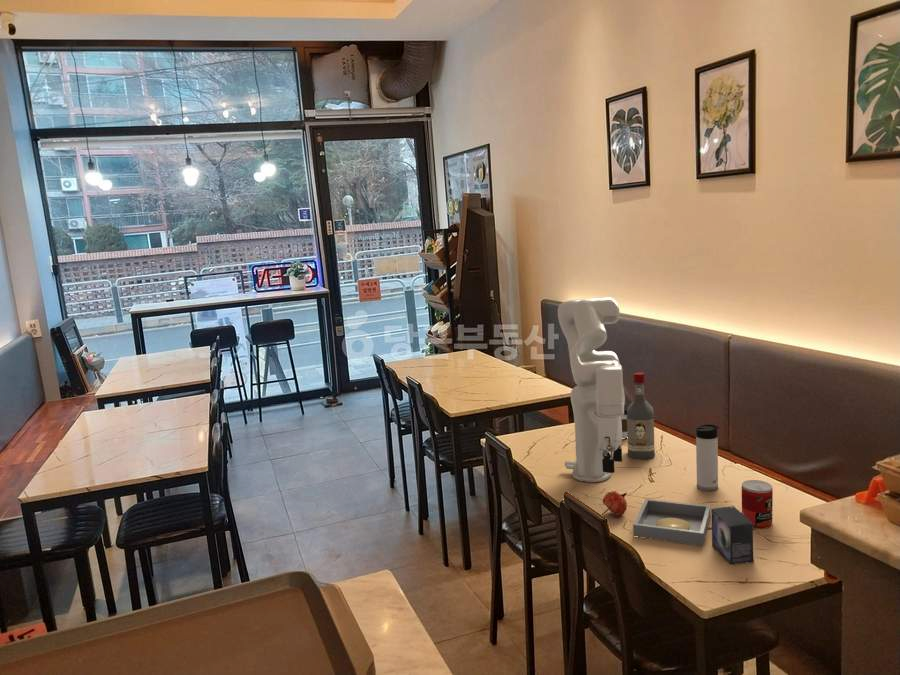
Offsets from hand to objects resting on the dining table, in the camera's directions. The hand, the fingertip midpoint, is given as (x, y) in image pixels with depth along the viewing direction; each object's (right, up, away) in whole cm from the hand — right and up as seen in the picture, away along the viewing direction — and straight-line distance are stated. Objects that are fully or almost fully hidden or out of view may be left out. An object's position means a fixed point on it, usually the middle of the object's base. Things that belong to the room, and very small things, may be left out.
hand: (612, 466), depth 201 cm
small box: (+25, -18, -24) cm, 39 cm away
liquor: (+22, -5, +50) cm, 55 cm away
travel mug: (+34, -10, +18) cm, 40 cm away
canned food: (+38, -14, -8) cm, 41 cm away
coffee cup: (+20, -2, +71) cm, 73 cm away
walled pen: (+15, -15, -7) cm, 23 cm away
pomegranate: (+1, -15, +3) cm, 15 cm away
